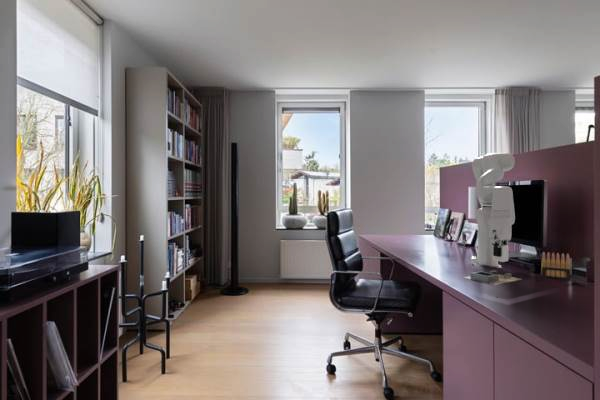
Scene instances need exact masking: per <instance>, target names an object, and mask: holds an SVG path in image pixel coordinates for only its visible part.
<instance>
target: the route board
mask: <svg viewBox="0 0 600 400" xmlns="http://www.w3.org/2000/svg"><path fill="white" fill-rule="evenodd" d="M489 273H492V274H497V275H499V281H495V282H490V283H489V284H491V285H495V286H497V285H501V284H505V283H511V282H516V281H522V280H523V279H522V278H520V277H519V278H518V277H514V276H512V273H511V272H507V273H503V274H499V271H498V270H496V269H495V270H494V269H493V270H489ZM470 276H471V275H469V276H463V278H465V279H469V280H471V279H470ZM472 280H473V281H475V280H474V279H472ZM476 281H478V280H476ZM478 282H479V281H478ZM480 282H482V281H480ZM482 283H483V282H482ZM485 284H488V283H487V282H485Z"/></svg>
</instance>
